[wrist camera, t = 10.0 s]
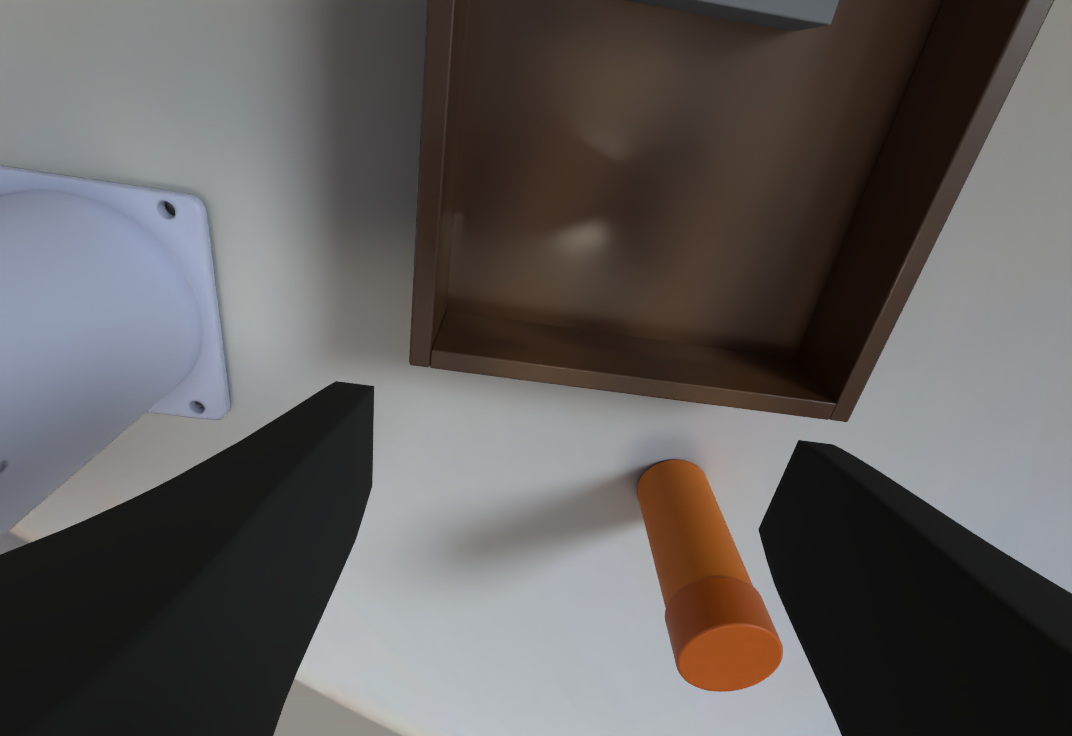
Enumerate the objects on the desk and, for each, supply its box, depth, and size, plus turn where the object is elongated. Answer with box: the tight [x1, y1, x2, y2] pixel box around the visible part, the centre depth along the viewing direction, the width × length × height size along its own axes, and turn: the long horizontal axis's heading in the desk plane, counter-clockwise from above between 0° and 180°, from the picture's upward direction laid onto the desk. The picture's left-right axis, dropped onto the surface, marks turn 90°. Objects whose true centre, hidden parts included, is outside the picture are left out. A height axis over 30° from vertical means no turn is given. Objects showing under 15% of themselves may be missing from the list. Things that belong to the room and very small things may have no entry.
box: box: [409, 0, 1054, 422], centre depth 14 cm, size 13×15×4 cm
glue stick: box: [637, 460, 783, 692], centre depth 19 cm, size 3×3×8 cm
